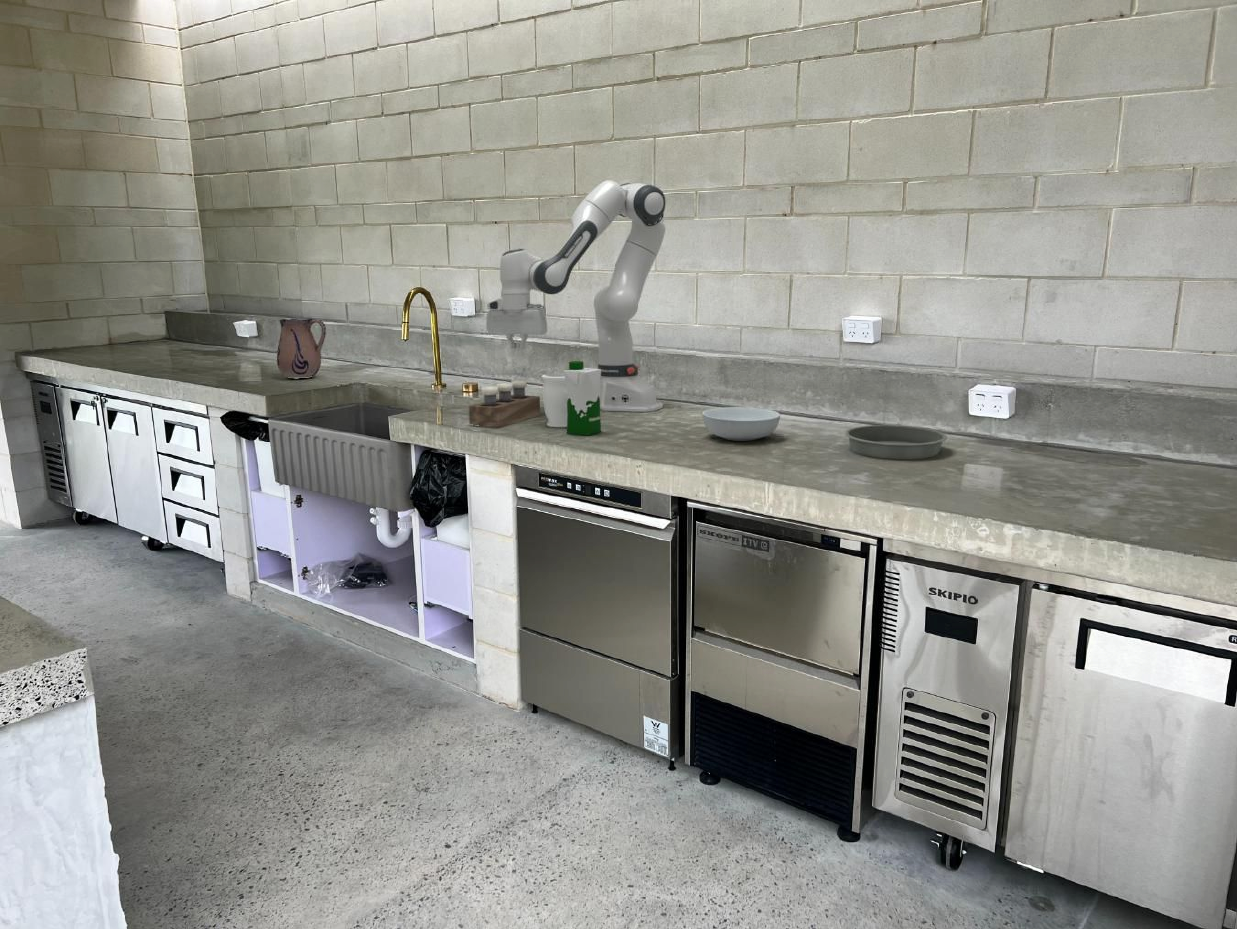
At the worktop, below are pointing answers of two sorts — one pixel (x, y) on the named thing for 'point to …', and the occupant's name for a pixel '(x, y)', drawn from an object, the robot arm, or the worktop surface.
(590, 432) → the milk carton
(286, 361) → the ceramic pitcher
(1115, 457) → the worktop surface
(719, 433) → the serving bowl
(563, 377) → the white cup
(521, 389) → the knob
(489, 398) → the knob
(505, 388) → the knob middle
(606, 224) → the robot arm
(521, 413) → the knob mount
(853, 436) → the cake pan
